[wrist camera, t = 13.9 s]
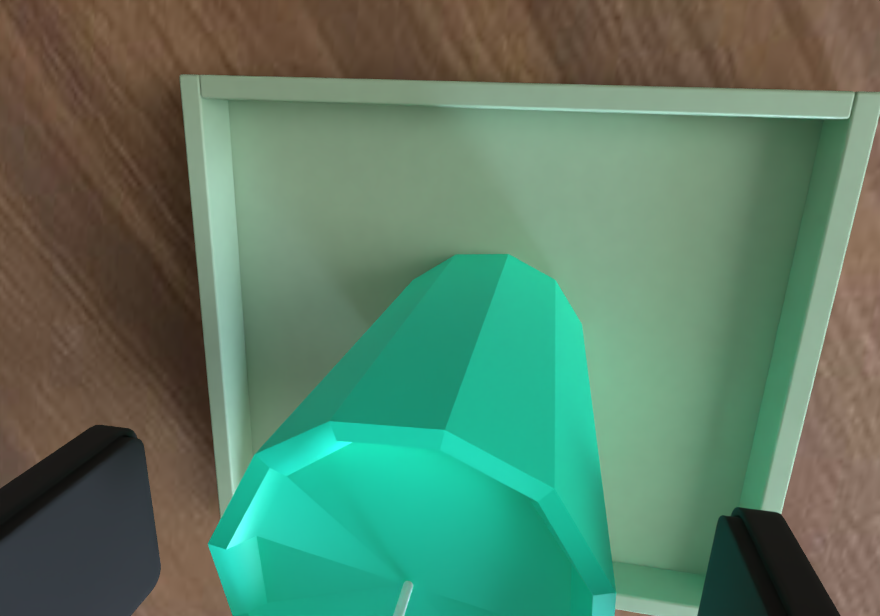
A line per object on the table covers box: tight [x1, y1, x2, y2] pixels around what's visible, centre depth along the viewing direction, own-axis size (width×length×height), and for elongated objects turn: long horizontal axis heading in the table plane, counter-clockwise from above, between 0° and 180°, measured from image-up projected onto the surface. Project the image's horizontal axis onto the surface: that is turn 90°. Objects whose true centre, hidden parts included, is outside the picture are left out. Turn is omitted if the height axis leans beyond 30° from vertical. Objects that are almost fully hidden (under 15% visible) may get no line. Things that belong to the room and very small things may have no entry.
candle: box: [208, 254, 616, 616], centre depth 13 cm, size 6×6×12 cm
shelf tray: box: [179, 74, 880, 616], centre depth 18 cm, size 17×15×2 cm
